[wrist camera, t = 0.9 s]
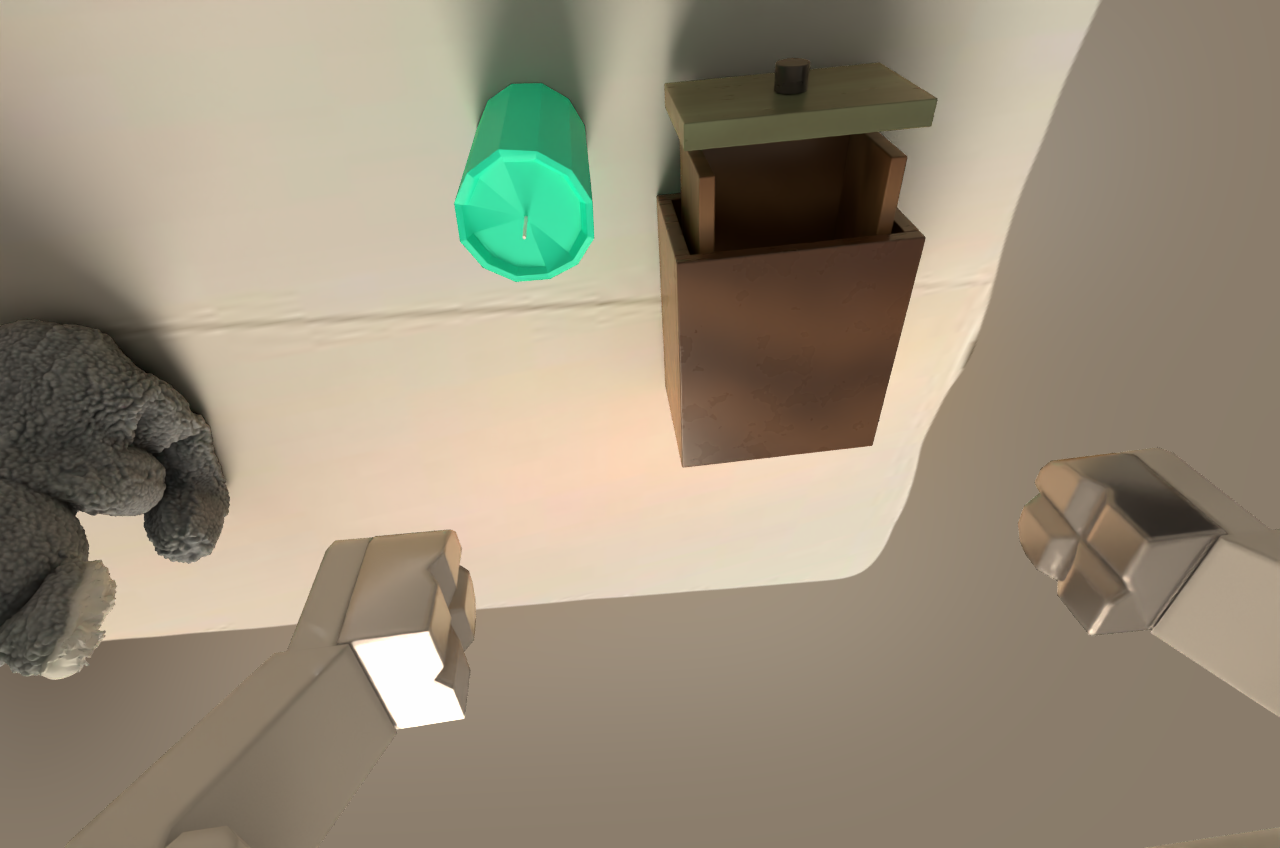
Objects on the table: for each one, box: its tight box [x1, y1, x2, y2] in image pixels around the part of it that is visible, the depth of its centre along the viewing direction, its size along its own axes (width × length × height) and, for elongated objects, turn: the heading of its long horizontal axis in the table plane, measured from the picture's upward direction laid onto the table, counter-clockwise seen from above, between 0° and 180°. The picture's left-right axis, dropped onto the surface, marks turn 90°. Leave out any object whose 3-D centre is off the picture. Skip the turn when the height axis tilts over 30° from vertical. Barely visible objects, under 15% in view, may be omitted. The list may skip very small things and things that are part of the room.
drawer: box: [664, 58, 937, 255], centre depth 34 cm, size 15×11×7 cm
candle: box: [454, 83, 594, 282], centre depth 30 cm, size 6×6×12 cm
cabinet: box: [657, 193, 925, 467], centre depth 39 cm, size 15×13×9 cm
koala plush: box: [0, 319, 230, 680], centre depth 37 cm, size 17×18×20 cm
